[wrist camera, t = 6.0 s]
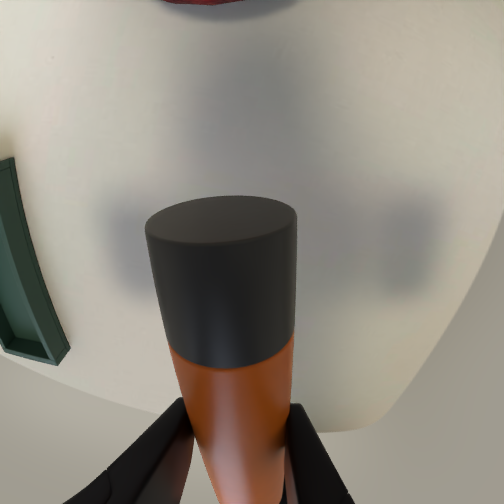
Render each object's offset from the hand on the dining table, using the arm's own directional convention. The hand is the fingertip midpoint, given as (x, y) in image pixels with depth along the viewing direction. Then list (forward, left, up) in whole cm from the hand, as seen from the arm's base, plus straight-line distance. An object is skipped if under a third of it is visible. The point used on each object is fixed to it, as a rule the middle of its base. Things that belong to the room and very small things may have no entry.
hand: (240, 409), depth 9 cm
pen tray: (0, +20, -10) cm, 22 cm away
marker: (0, 0, -1) cm, 1 cm away
